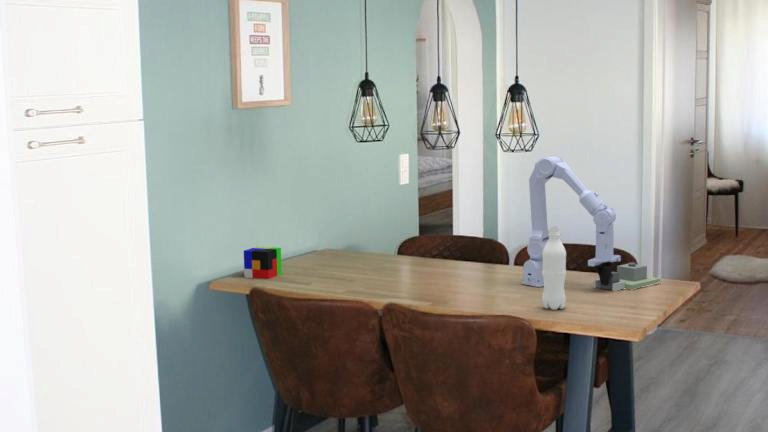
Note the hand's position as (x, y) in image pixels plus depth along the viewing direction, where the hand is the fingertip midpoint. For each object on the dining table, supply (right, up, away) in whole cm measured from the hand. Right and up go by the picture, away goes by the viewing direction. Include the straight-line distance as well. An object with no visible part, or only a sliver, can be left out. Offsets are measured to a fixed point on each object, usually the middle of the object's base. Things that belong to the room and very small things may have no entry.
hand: (604, 285), depth 317 cm
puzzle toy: (-118, +1, +35) cm, 123 cm away
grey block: (+2, -1, +2) cm, 3 cm away
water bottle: (-21, -5, -25) cm, 33 cm away
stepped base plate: (+9, -1, +6) cm, 11 cm away
